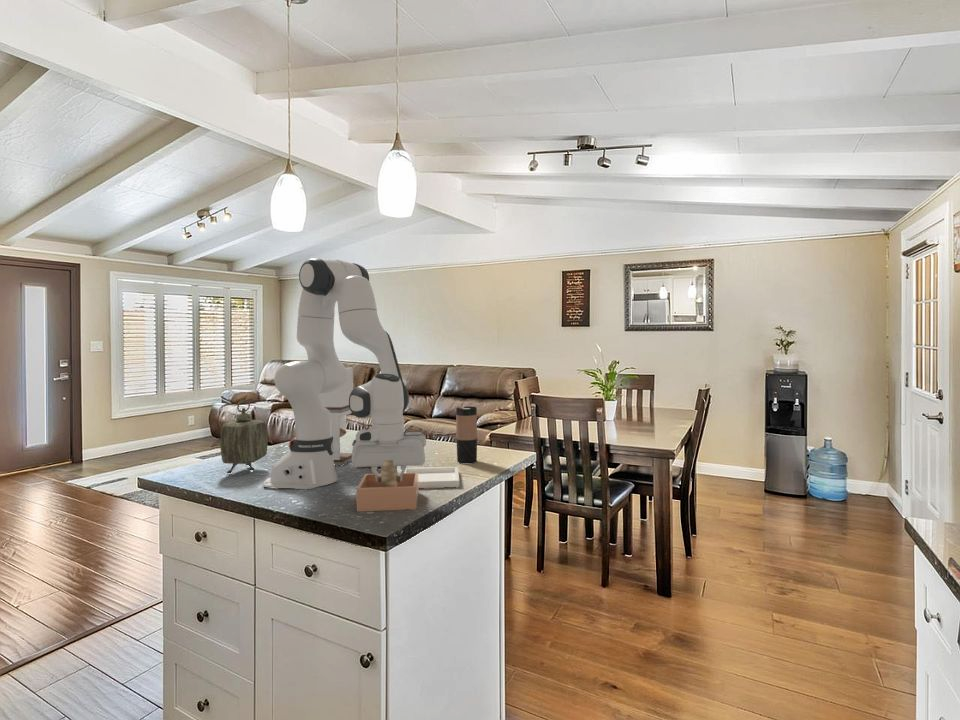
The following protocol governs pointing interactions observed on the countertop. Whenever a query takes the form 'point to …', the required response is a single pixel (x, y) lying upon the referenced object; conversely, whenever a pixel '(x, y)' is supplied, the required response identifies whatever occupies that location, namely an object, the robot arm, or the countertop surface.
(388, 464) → the dowel pin
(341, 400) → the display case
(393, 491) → the peach storage bin
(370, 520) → the countertop surface
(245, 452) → the tabletop clock
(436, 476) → the tray
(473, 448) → the travel mug
